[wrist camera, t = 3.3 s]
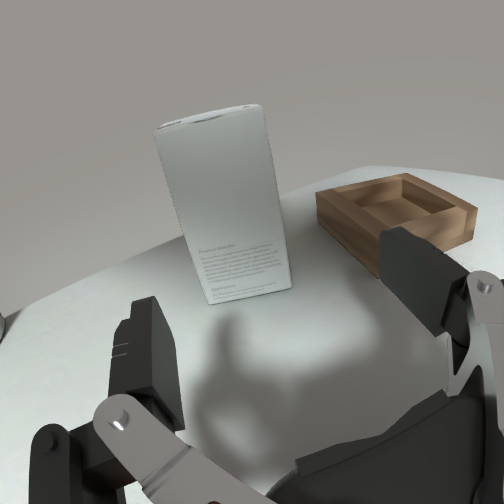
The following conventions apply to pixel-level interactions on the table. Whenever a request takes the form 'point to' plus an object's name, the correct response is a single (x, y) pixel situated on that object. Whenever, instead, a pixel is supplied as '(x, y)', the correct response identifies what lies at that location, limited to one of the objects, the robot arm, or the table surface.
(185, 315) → the table surface
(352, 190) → the wooden tray
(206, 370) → the table surface
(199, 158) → the skincare box
